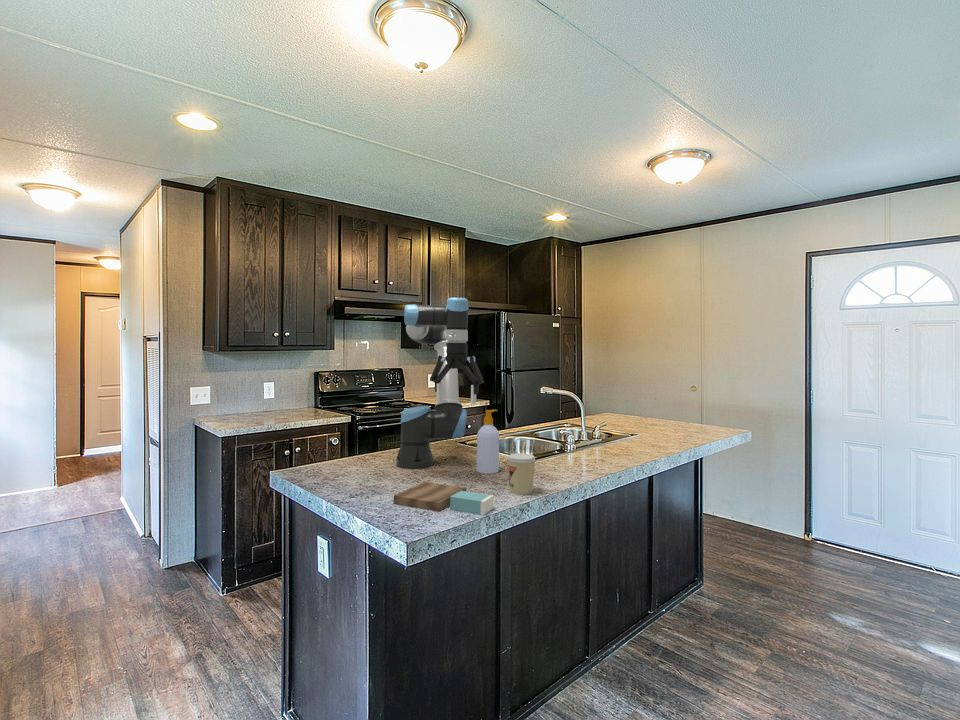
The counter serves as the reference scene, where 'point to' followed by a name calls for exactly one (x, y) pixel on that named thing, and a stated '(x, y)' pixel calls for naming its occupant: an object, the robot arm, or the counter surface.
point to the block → (471, 502)
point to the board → (427, 496)
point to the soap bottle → (488, 446)
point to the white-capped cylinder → (521, 473)
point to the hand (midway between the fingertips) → (456, 402)
